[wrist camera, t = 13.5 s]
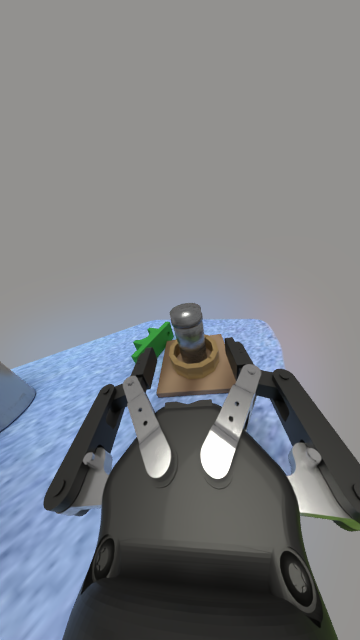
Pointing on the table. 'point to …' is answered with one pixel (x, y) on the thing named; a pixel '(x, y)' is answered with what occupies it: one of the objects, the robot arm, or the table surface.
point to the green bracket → (154, 340)
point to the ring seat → (196, 371)
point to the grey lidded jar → (189, 332)
